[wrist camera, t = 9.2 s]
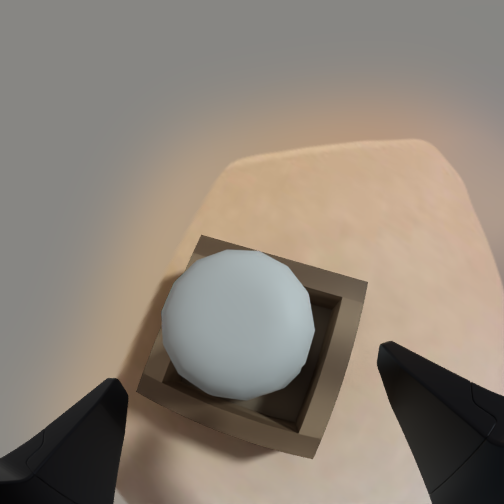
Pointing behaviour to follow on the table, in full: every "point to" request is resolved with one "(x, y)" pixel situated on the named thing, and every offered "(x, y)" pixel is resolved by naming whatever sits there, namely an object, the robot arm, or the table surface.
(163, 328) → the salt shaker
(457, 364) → the table surface
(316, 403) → the socket block
